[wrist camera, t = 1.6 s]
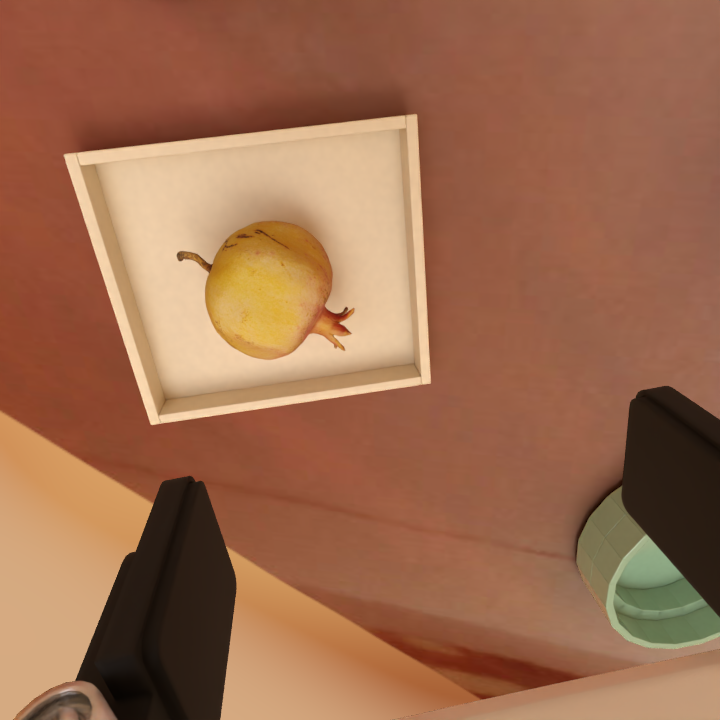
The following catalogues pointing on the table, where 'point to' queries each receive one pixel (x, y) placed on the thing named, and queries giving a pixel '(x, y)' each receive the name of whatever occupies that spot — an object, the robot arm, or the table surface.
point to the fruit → (270, 290)
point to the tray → (237, 210)
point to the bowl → (640, 583)
